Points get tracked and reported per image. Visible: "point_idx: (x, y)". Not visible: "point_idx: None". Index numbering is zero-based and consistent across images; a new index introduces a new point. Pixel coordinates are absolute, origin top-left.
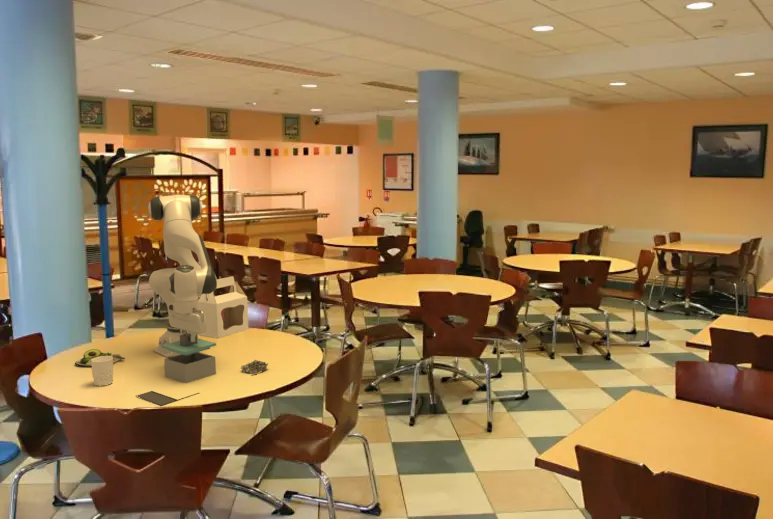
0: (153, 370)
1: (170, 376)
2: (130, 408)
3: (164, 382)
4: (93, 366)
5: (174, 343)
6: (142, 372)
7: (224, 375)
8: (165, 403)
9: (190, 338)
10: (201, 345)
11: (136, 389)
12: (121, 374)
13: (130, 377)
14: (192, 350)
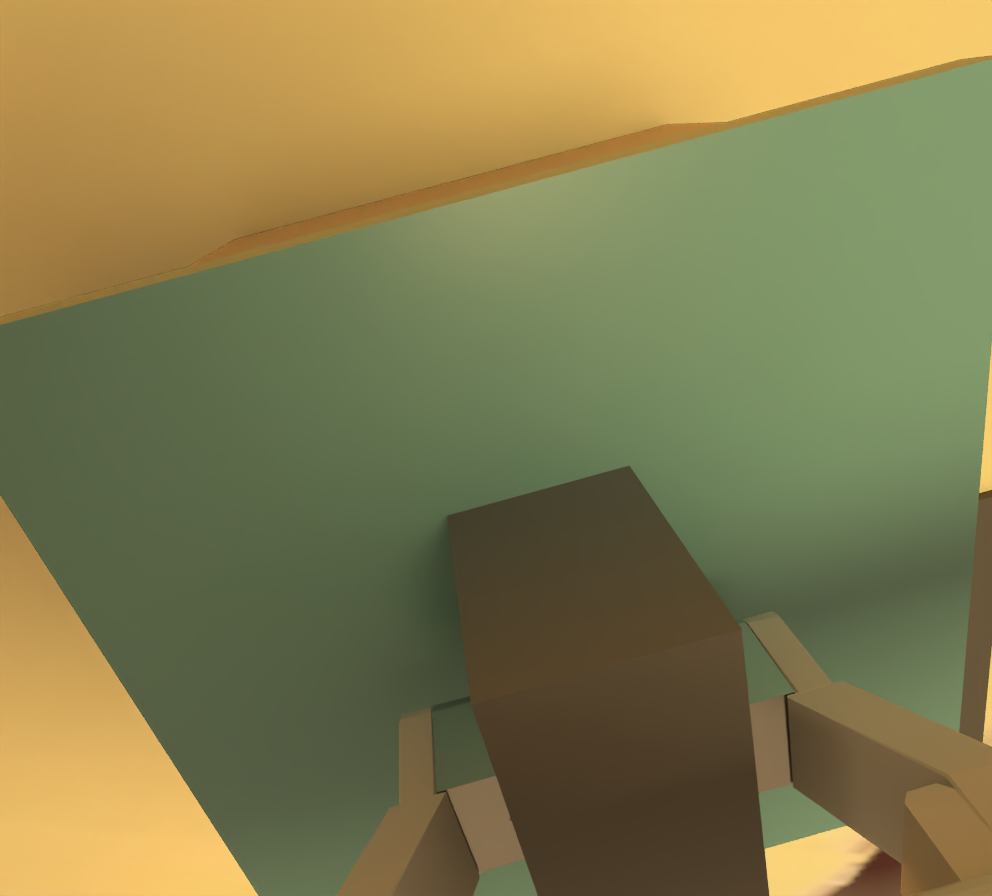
0: (9, 614)
1: None
2: (848, 877)
3: None
4: None
5: (327, 820)
6: (33, 703)
7: (734, 20)
8: (982, 735)
9: (794, 768)
10: (870, 459)
11: None
12: (8, 836)
13: (152, 798)
14: (951, 664)
